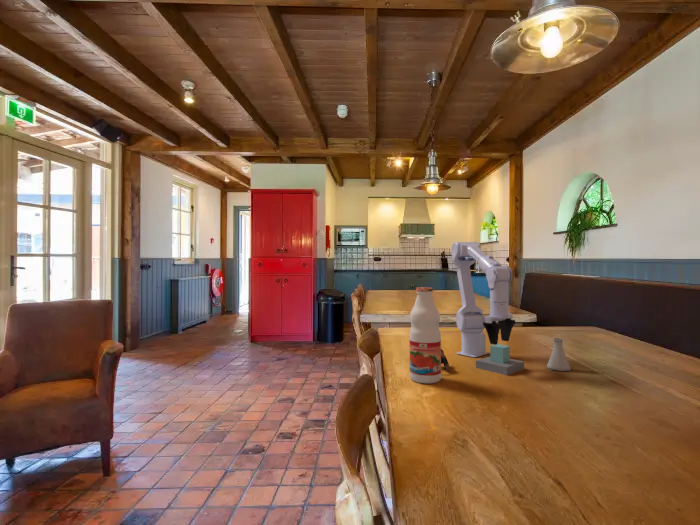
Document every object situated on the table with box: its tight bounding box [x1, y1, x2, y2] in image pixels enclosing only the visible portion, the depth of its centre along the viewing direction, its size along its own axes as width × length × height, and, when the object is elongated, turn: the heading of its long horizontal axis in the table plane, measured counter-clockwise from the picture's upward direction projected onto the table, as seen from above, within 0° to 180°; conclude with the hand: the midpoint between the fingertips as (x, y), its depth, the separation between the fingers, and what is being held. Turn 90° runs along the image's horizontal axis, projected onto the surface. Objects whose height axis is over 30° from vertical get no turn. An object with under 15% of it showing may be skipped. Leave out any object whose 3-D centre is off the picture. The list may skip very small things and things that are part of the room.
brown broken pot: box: [441, 348, 451, 373], centre depth 125 cm, size 12×10×8 cm
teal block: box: [489, 343, 511, 363], centre depth 125 cm, size 4×4×5 cm
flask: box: [546, 337, 571, 372], centre depth 124 cm, size 7×7×10 cm
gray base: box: [475, 356, 525, 376], centre depth 125 cm, size 11×11×3 cm
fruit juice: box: [408, 286, 442, 384], centre depth 114 cm, size 9×9×28 cm
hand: (499, 342), depth 125 cm, fingers open, 7 cm apart
